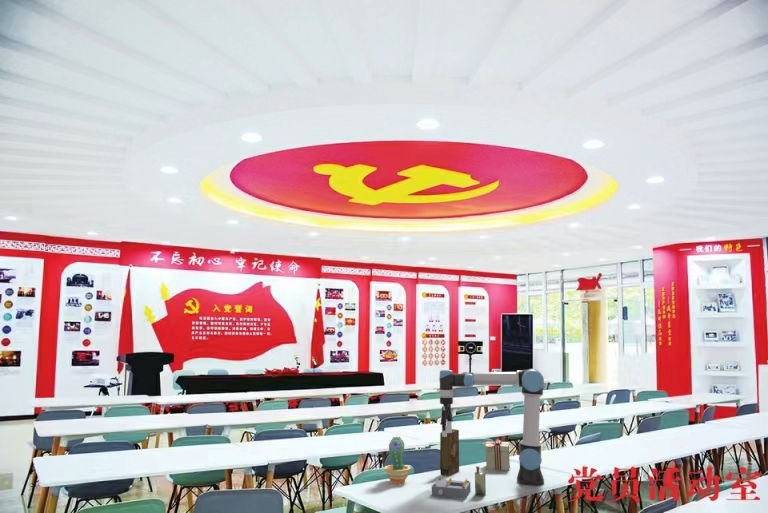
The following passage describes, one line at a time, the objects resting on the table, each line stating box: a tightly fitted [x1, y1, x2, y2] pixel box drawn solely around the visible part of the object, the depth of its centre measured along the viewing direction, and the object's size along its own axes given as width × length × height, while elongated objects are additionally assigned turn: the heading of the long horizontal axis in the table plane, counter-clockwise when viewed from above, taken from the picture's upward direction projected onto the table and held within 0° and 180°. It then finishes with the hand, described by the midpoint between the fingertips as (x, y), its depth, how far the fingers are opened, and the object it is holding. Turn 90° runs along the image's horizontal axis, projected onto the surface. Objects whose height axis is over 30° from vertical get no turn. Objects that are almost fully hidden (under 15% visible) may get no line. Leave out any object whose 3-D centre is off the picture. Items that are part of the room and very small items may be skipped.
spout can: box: [474, 466, 487, 497], centre depth 301 cm, size 6×6×14 cm
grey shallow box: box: [431, 476, 472, 500], centre depth 301 cm, size 18×18×8 cm
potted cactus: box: [384, 436, 412, 485], centre depth 328 cm, size 15×15×25 cm
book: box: [439, 428, 460, 477], centre depth 350 cm, size 16×6×25 cm, turn 148°
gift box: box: [480, 438, 511, 471], centre depth 365 cm, size 17×18×17 cm
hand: (446, 434), depth 328 cm, fingers open, 13 cm apart
